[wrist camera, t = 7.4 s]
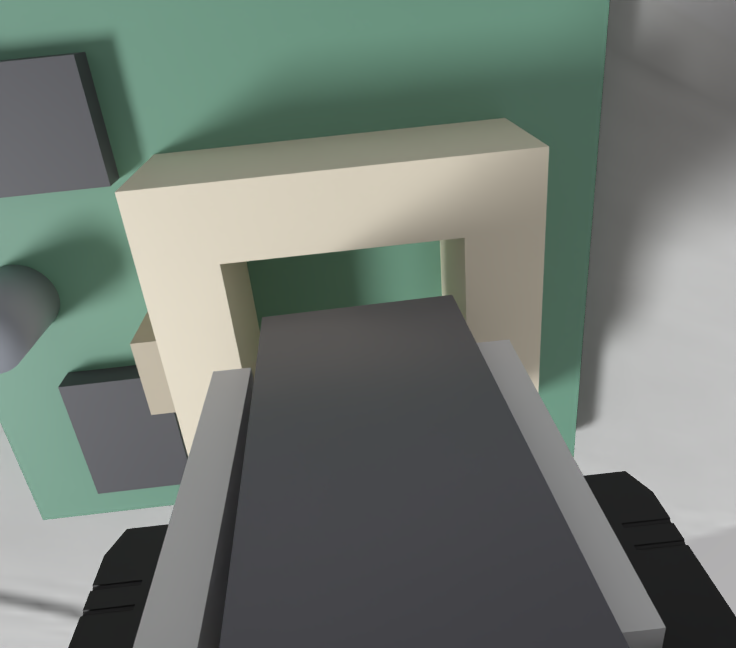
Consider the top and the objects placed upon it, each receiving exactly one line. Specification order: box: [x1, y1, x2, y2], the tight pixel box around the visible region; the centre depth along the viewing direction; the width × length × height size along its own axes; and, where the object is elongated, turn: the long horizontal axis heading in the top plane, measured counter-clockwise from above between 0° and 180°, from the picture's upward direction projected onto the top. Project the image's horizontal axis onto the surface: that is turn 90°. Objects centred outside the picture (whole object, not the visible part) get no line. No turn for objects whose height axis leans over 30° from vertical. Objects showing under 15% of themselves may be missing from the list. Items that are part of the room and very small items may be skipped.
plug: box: [219, 295, 630, 648], centre depth 9 cm, size 4×4×11 cm
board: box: [0, 0, 610, 520], centre depth 17 cm, size 18×16×5 cm
